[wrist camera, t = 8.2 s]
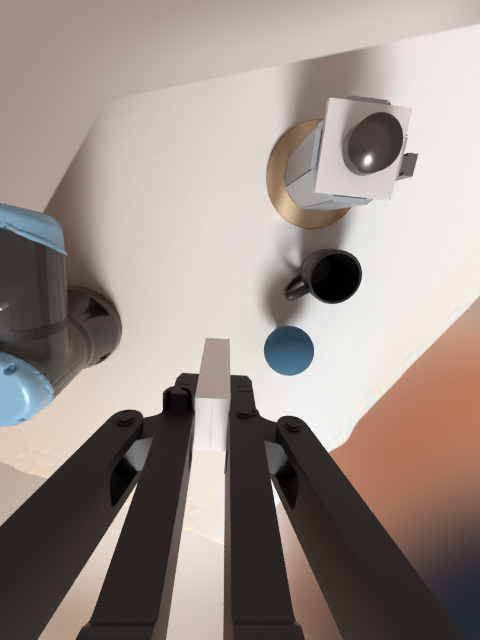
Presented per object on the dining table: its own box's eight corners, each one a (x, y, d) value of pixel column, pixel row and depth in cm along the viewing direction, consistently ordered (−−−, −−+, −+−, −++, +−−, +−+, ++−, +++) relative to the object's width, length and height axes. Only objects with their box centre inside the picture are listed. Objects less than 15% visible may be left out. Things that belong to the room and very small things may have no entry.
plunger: (301, 194, 39) (331, 182, 28) (310, 132, 37) (347, 90, 25) (353, 200, 40) (404, 189, 28) (365, 138, 37) (426, 100, 26)
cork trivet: (261, 223, 48) (261, 223, 48) (272, 115, 43) (273, 113, 43) (350, 232, 49) (352, 232, 49) (372, 126, 44) (374, 125, 44)
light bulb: (252, 345, 56) (259, 375, 44) (269, 307, 53) (280, 329, 42) (290, 358, 57) (306, 391, 46) (308, 322, 55) (330, 347, 43)
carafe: (280, 207, 47) (307, 198, 31) (289, 137, 44) (324, 88, 28) (356, 214, 48) (419, 209, 32) (370, 146, 45) (448, 104, 29)
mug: (268, 264, 51) (277, 272, 42) (331, 238, 50) (355, 241, 41) (283, 304, 53) (294, 320, 44) (343, 280, 52) (368, 292, 43)
